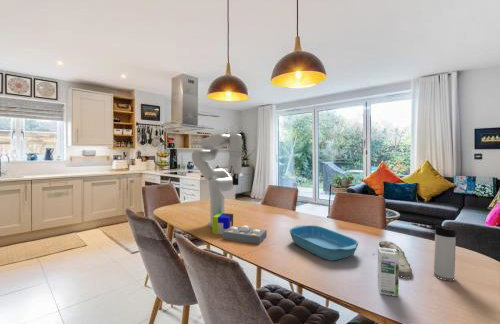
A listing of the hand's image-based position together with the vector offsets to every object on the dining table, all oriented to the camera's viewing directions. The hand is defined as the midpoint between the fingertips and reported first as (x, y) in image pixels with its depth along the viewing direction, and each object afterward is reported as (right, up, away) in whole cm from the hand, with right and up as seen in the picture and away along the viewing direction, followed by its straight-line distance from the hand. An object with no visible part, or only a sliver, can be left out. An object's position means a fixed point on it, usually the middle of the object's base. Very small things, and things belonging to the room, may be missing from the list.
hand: (235, 184), depth 148 cm
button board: (+6, -29, -9) cm, 31 cm away
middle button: (+6, -26, -9) cm, 28 cm away
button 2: (+12, -28, -11) cm, 33 cm away
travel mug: (+84, -31, -53) cm, 104 cm away
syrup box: (+57, -32, -63) cm, 90 cm away
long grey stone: (+74, -31, -37) cm, 88 cm away
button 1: (-1, -28, -6) cm, 29 cm away
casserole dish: (+45, -31, -24) cm, 59 cm away
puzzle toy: (-8, -29, +3) cm, 30 cm away
